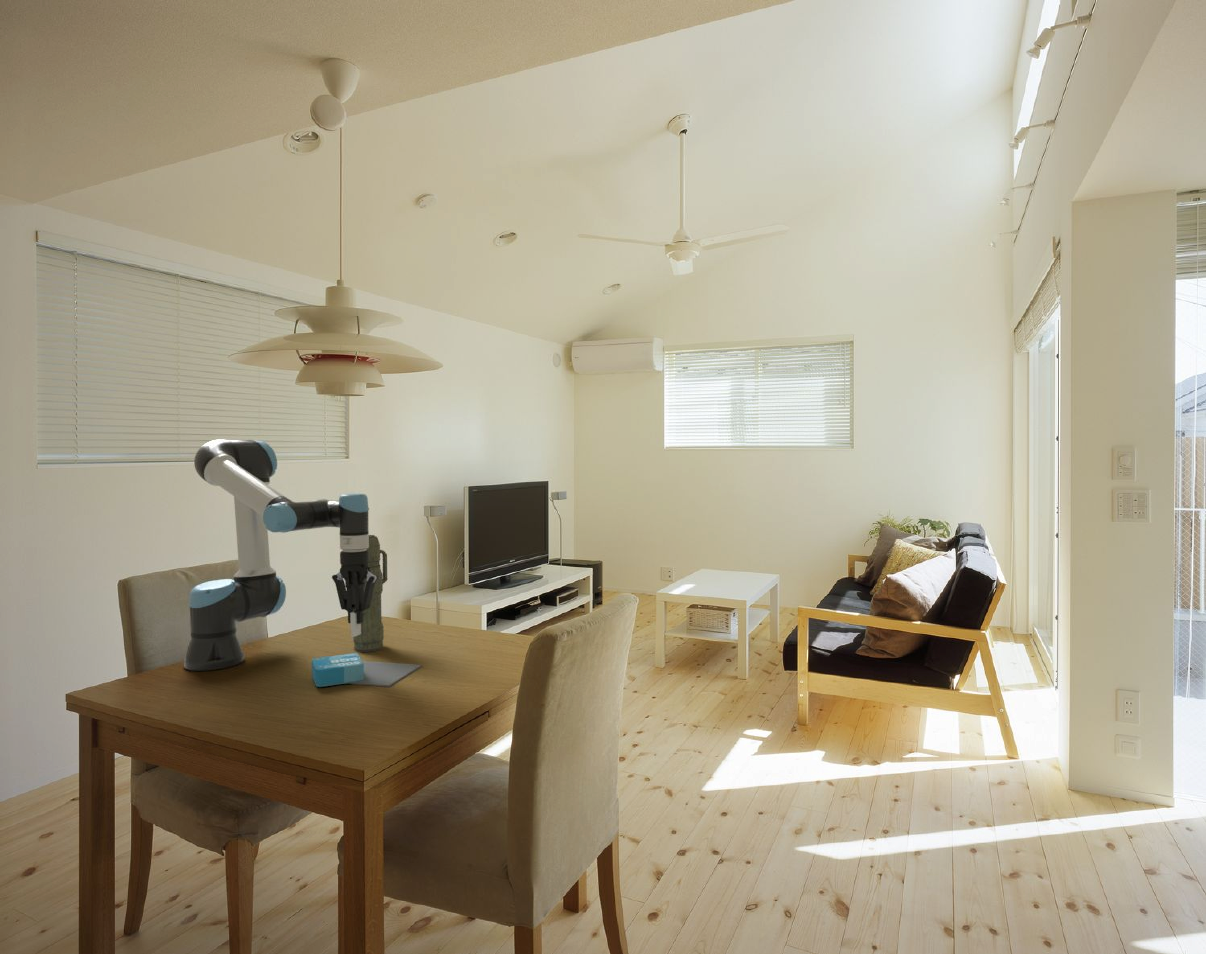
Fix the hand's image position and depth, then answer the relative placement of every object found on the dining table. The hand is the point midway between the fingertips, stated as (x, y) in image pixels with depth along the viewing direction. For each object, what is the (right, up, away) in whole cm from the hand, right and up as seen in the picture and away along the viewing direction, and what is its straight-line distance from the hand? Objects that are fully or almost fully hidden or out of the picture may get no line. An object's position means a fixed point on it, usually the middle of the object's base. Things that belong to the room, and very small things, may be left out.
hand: (355, 635), depth 196 cm
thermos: (-5, -10, +25) cm, 27 cm away
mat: (+5, -10, -1) cm, 12 cm away
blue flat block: (-6, -8, 0) cm, 10 cm away
